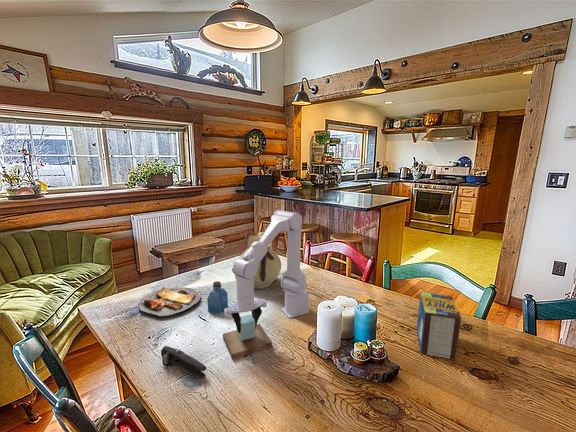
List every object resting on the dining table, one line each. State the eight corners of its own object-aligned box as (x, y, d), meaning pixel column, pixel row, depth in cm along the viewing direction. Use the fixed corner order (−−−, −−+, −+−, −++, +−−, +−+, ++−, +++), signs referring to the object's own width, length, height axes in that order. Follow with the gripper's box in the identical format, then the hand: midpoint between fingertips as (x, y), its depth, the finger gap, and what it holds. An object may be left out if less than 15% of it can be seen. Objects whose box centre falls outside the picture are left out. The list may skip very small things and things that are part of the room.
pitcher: (257, 270, 162) (256, 228, 157) (291, 281, 149) (292, 235, 143) (228, 285, 145) (225, 238, 139) (263, 299, 131) (262, 247, 125)
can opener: (155, 364, 90) (154, 349, 89) (174, 352, 96) (172, 337, 95) (195, 387, 82) (194, 370, 80) (213, 371, 87) (212, 355, 86)
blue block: (250, 329, 104) (250, 314, 102) (255, 336, 99) (255, 321, 98) (237, 332, 101) (236, 317, 100) (241, 340, 97) (241, 324, 96)
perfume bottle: (221, 313, 119) (220, 286, 116) (208, 312, 120) (206, 285, 118) (227, 306, 125) (226, 280, 122) (214, 304, 126) (213, 279, 124)
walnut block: (259, 329, 109) (259, 323, 108) (272, 348, 98) (272, 342, 98) (223, 339, 103) (222, 333, 102) (232, 361, 92) (231, 354, 92)
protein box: (446, 333, 106) (451, 295, 103) (455, 361, 92) (462, 317, 88) (416, 328, 109) (420, 290, 106) (420, 354, 95) (424, 311, 92)
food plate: (126, 310, 121) (126, 302, 120) (168, 287, 142) (167, 281, 142) (172, 324, 112) (172, 316, 111) (210, 298, 133) (209, 291, 132)
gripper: (261, 284, 103) (262, 318, 106) (221, 292, 97) (223, 328, 100) (268, 292, 97) (269, 328, 100) (226, 302, 91) (228, 340, 94)
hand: (246, 329), depth 99 cm, fingers closed on blue block, 5 cm apart
